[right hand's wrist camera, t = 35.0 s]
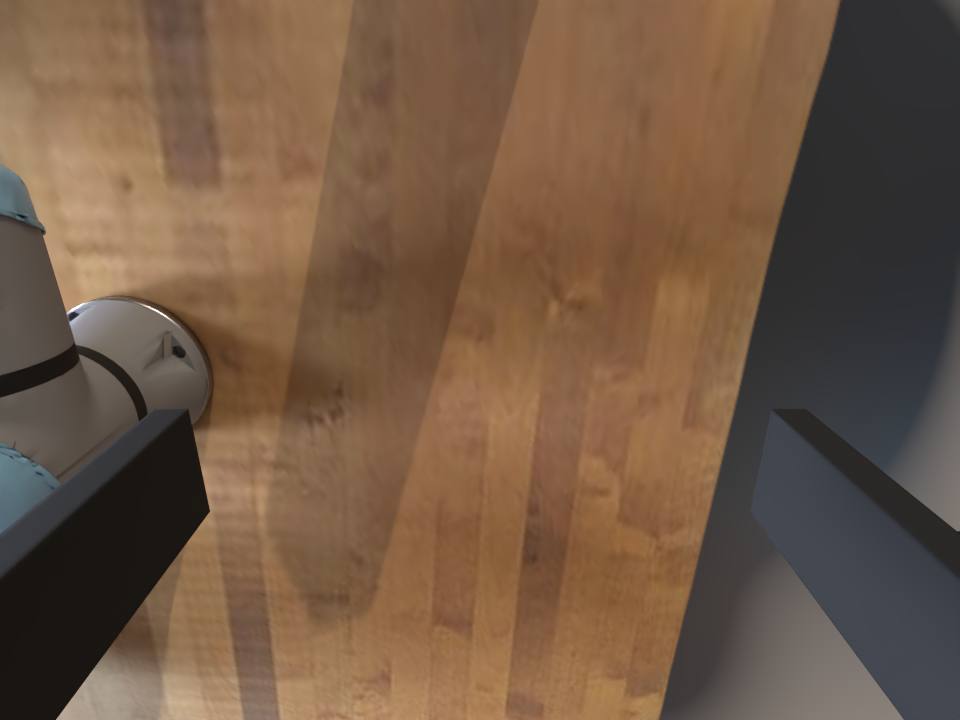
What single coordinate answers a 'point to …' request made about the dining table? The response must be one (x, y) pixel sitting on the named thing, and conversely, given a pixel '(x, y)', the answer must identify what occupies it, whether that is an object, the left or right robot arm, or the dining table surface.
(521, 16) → the dining table surface
